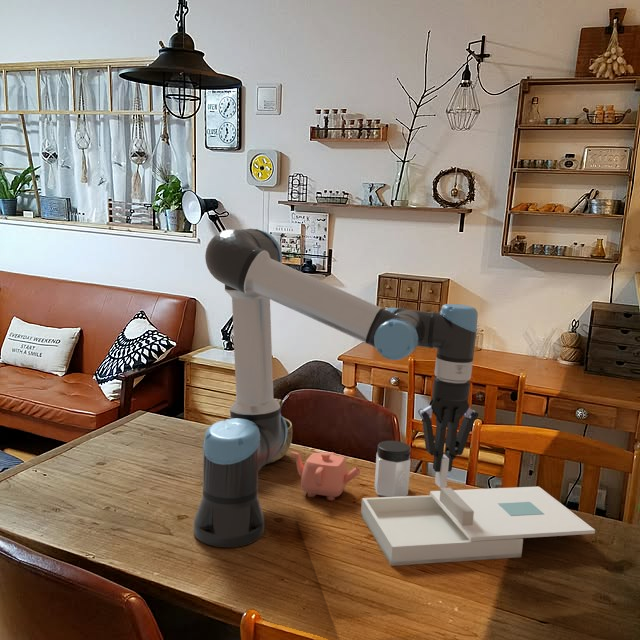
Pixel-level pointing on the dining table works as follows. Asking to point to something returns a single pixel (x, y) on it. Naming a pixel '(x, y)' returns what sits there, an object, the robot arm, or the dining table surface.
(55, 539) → the dining table surface
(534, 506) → the lid
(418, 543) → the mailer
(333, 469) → the teapot
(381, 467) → the jar
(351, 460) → the dining table surface
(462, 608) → the dining table surface
